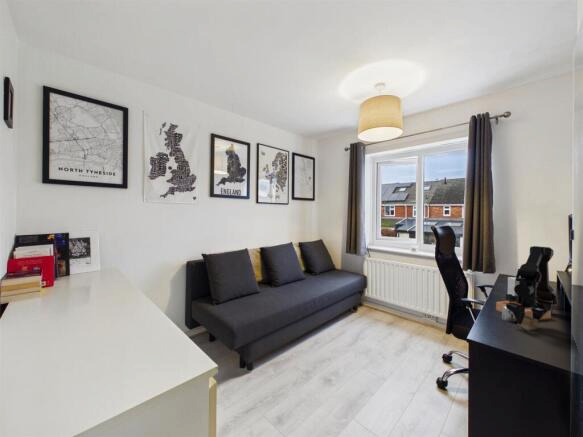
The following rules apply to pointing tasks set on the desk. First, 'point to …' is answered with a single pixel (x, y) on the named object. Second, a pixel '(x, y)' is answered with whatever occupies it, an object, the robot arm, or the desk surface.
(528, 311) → the tote
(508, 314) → the grey cylinder
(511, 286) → the supplement box
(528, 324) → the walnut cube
